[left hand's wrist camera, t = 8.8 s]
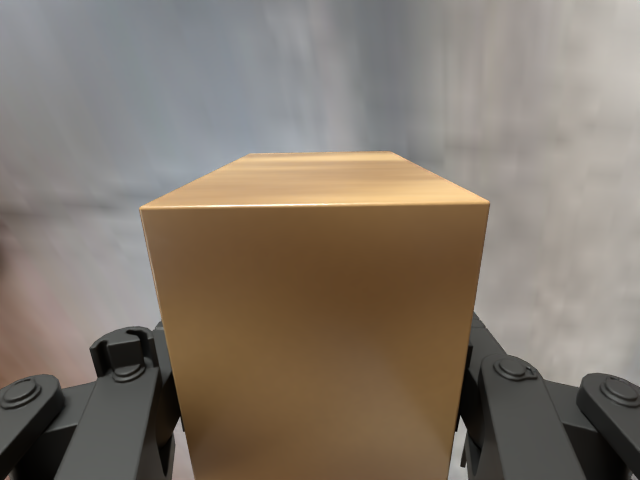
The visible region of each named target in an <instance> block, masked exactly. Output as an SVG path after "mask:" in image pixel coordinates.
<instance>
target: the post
mask: <svg viewBox="0 0 640 480" xmlns="http://www.w3.org/2000/svg"><path fill="white" fill-rule="evenodd" d="M489 208H490V202H489V201H488V200H486V199H484V198H482V197H480V196H478V195H476V194H474V193H472V192H470V191H468V190H466V189H464V188H462V187H460V186H458V185H456V184H454V183H452V182H450V181H448V180H446V179H444V178H442V177H440V176H438V175H436V174H434V173H432V172H430V171H428V170H426V169H424V168H422V167H420V166H418V165H416V164H414V163H412V162H411V161H409V160H407V159H405V158H403V157H401V156H399V155H397V154H395V153H393V152H391V151H362V152H309V153H256V154H248V155H246V156H244V157H242V158H240V159H238V160H235V161H233V162H231V163H229V164H227V165H225V166H223V167H221V168H219V169H217V170H215V171H213V172H211V173H209V174H207V175H205V176H203V177H201V178H198V179H196V180H194V181H192V182H190V183H188V184H186V185H184V186H182V187H180V188H178V189H176V190H174V191H172V192H170V193H168V194H166V195H164V196H162V197H159V198H157V199H155V200H153V201H151V202H149V203H147V204H145V205H143V206H141V207H140V208H139V211H140V216H141V221H142V226H143V231H144V236H145V240H146V245H147V250H148V255H149V260H150V265H151V270H152V274H153V279H154V284H155V289H156V294H157V299H158V304H159V308H160V313H161V318H162V323H163V328H164V333H165V338H166V342H167V347H168V352H169V357H170V362H171V367H172V372H173V376H174V381H175V386H176V391H177V396H178V401H179V405H180V410H181V415H182V420H183V425H184V430H185V435H186V439H187V444H188V449H189V454H190V459H191V464H192V469H193V473H194V478H195V480H448V473H449V467H450V460H451V454H452V447H453V441H454V434H455V428H456V421H457V415H458V409H459V402H460V396H461V389H462V383H463V376H464V370H465V363H466V357H467V350H468V344H469V337H470V331H471V324H472V318H473V311H474V305H475V298H476V292H477V285H478V279H479V272H480V266H481V259H482V253H483V246H484V240H485V234H486V227H487V221H488V214H489Z"/></svg>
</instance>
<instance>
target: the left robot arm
mask: <svg viewBox="0 0 640 480" xmlns="http://www.w3.org/2000/svg"><path fill="white" fill-rule="evenodd" d="M89 349H90V353H91V356H92V360H93V363H94V367H95V370H96V374H97V377H98V378H97V381H94V382H91V383H87V384H82V385H78V386H73V387H69V388H64V389H61V386H60V383H59V380H58V379H57V378H56V377H54V376H53V375H45V374H42V375H35V376H30V377H26V378H24V379H20V380H18V381H15V382H14V383H12V384H10V385H8V386H6V387H4V388H2V389H1V390H0V480H4V479H5V478H6V477H7V475H9V477H10V480H172V471H173V462H174V453H175V439H174V434H173V430H174V428H175V426H176V424H177V422H178V420H179V417H180V418H181V423H182V428H183V432H185V430H184V425H183V420H182V415H181V410H180V405H179V401H178V396H177V391H176V386H175V381H174V376H173V372H172V367H171V362H170V357H169V352H168V347H167V342H166V338H165V333H164V328H163V323H162V319H161V322H159V323H158V325H157V326H156V327H155V330H153V331H151V330H149V329H148V328H145V327H140V326H137V327H126V328H122V329H118V330H115V331H113V332H110V333H108V334H106V335H104V336H102V337H101V338H99V339H98V340H97V341H95V342H94V343H93V345H92V346H91V347H90V348H89ZM460 415H461V417H462V419H463V422H464V424H465V426H466V428H467V434H466V439H465V444H464V449H463V453H462V458H461V465H460V467H464V468H465V465H466V461H467V470H468V479H469V480H632V479H631V476H632V474H634V475H635V476H636V477H637V478H638V480H640V387H638V386H636V385H634V384H632V383H630V382H628V381H627V380H625V379H622V378H618V377H616V376H612V375H609V374H602V373H592V374H587V375H586V376H585V377H583V378H582V381H581V384H580V387H579V388H578V387H574V386H569V385H565V384H560V383H556V382H551V381H548V380H544V379H543V378H542V376H541V375H540V373H539V372H538V371H537V369H535V368H534V367H533V366H532V365H530V364H529V363H528V362H526V361H524V360H522V359H520V358H518V357H514V356H511V355H507V354H506V352H505V351H504V350H503V348H502V347H501V346H500V345H499V343H498V342H497V341H496V339H495V338H494V337H493V336H492V334H491V333H490V332H489V330H488V329H486V328H485V325H484V324H483V323H482V321H481V320H479V318H478V316H477V315H476V314H475V312H474V311H473V318H472V324H471V331H470V337H469V344H468V350H467V357H466V363H465V370H464V376H463V383H462V389H461V396H460V402H459V409H458V415H457V421H456V428H455V432H457V430H458V424H459V419H460Z"/></svg>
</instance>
